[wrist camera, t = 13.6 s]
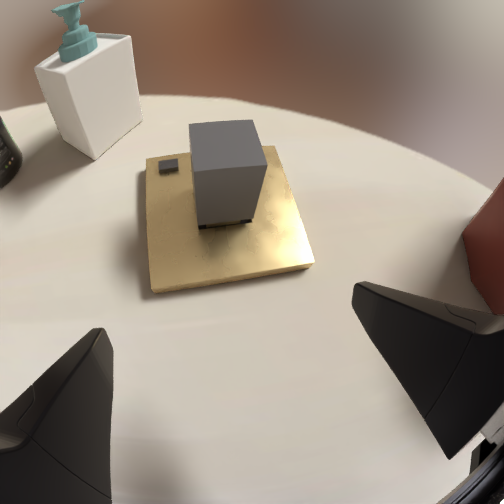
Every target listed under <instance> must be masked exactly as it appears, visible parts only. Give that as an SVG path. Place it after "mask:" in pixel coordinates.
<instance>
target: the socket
mask: <svg viewBox="0 0 504 504" xmlns="http://www.w3.org/2000/svg"><path fill="white" fill-rule="evenodd" d="M262 149H263V152H264V155H265V158H266V161H267V164H268V166H267V170H266V174H265V177H264V181H263V185H262V188H261V192H260V196H259V199H258V203H257V207H256V211H255V214H254V218H253V219H245V220H241V222H240V223H236V224H229V225H221V226H213V227H206V225H199V226H198V223H197V216H196V208H195V200H194V192H193V183H192V171H191V156H190V153H182V154H174V155H168V156H161V157H155V158H149V159H146V223H147V244H148V259H149V271H150V282H151V289H152V290H153V292H154V293H161V292H168V291H175V290H182V289H188V288H195V287H201V286H207V285H214V284H220V283H226V282H232V281H238V280H244V279H250V278H256V277H262V276H267V275H273V274H279V273H284V272H290V271H295V270H301V269H306V268H310V267H311V265H312V264H313V263H314V258H313V255H312V252H311V249H310V246H309V243H308V239H307V236H306V233H305V230H304V227H303V224H302V221H301V218H300V215H299V212H298V209H297V206H296V204H295V201H294V198H293V195H292V192H291V189H290V187H289V184H288V181H287V178H286V175H285V173H284V170H283V167H282V165H281V162H280V159H279V157H278V154H277V151H276V149H275V146H262Z"/></svg>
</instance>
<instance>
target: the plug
mask: <svg viewBox="0 0 504 504" xmlns="http://www.w3.org/2000/svg"><path fill="white" fill-rule="evenodd" d="M189 139H190V156H191V171H192V183H193V192H194V200H195V208H196V216H197V223H198V226H199V225H206V227H213V226H221V225H229V224H236V223H240V222H241V220H245V219H253V218H254V214H255V211H256V207H257V203H258V199H259V196H260V192H261V188H262V185H263V181H264V177H265V174H266V170H267V166H268V164H267V161H266V158H265V155H264V152H263V149H262V146H261V143H260V140H259V137H258V134H257V131H256V128H255V126H254V123H253V120H233V121H217V122H205V123H195V124H189Z"/></svg>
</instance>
